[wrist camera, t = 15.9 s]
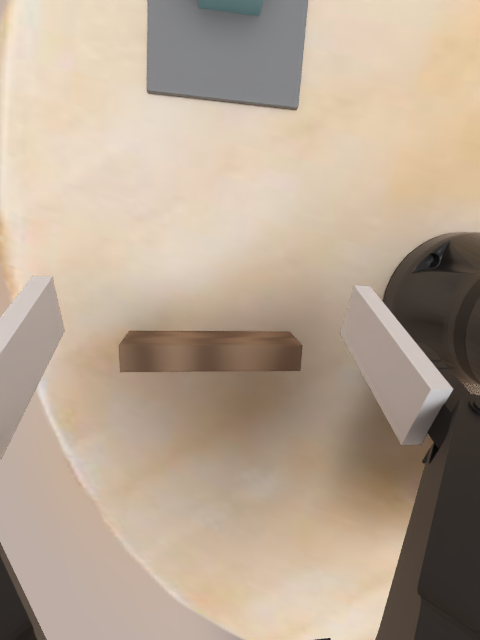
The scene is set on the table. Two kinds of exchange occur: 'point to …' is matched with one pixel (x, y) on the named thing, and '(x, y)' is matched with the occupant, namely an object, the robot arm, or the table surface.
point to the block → (233, 6)
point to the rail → (209, 351)
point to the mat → (227, 52)
